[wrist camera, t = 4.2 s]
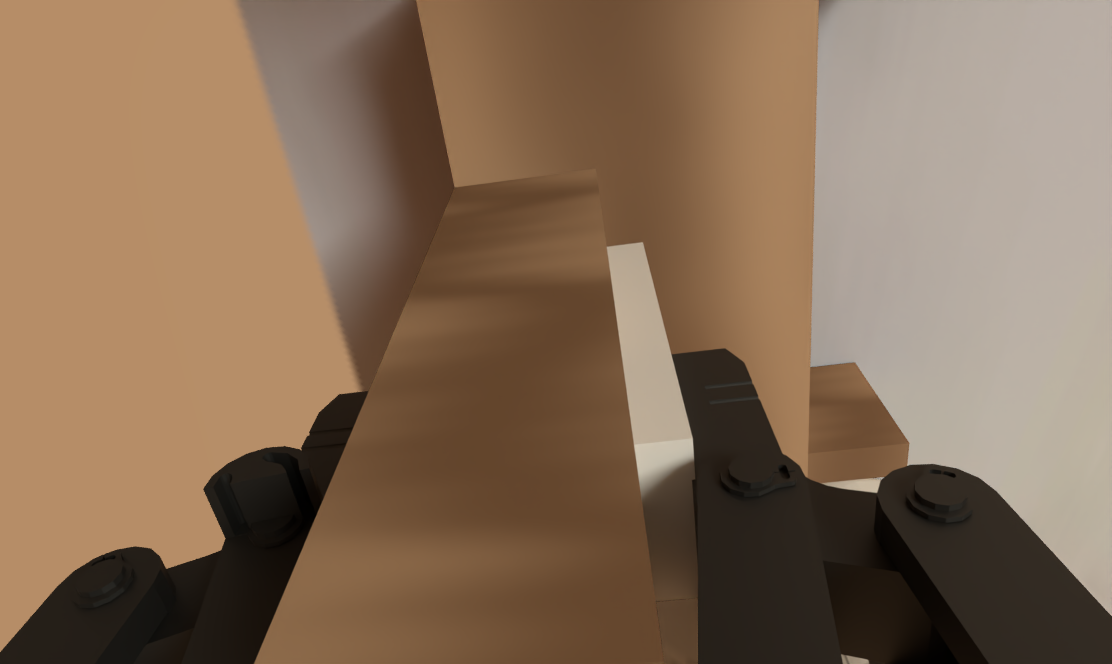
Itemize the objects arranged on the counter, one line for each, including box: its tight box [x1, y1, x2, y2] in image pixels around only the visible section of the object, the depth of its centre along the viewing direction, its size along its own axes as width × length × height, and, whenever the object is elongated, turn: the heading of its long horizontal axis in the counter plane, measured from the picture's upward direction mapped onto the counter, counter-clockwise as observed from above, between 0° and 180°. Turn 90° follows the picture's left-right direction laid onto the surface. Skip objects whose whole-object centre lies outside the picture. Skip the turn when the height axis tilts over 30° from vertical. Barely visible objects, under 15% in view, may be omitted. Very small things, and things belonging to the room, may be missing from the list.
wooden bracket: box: [254, 0, 909, 664], centre depth 13 cm, size 10×13×16 cm
